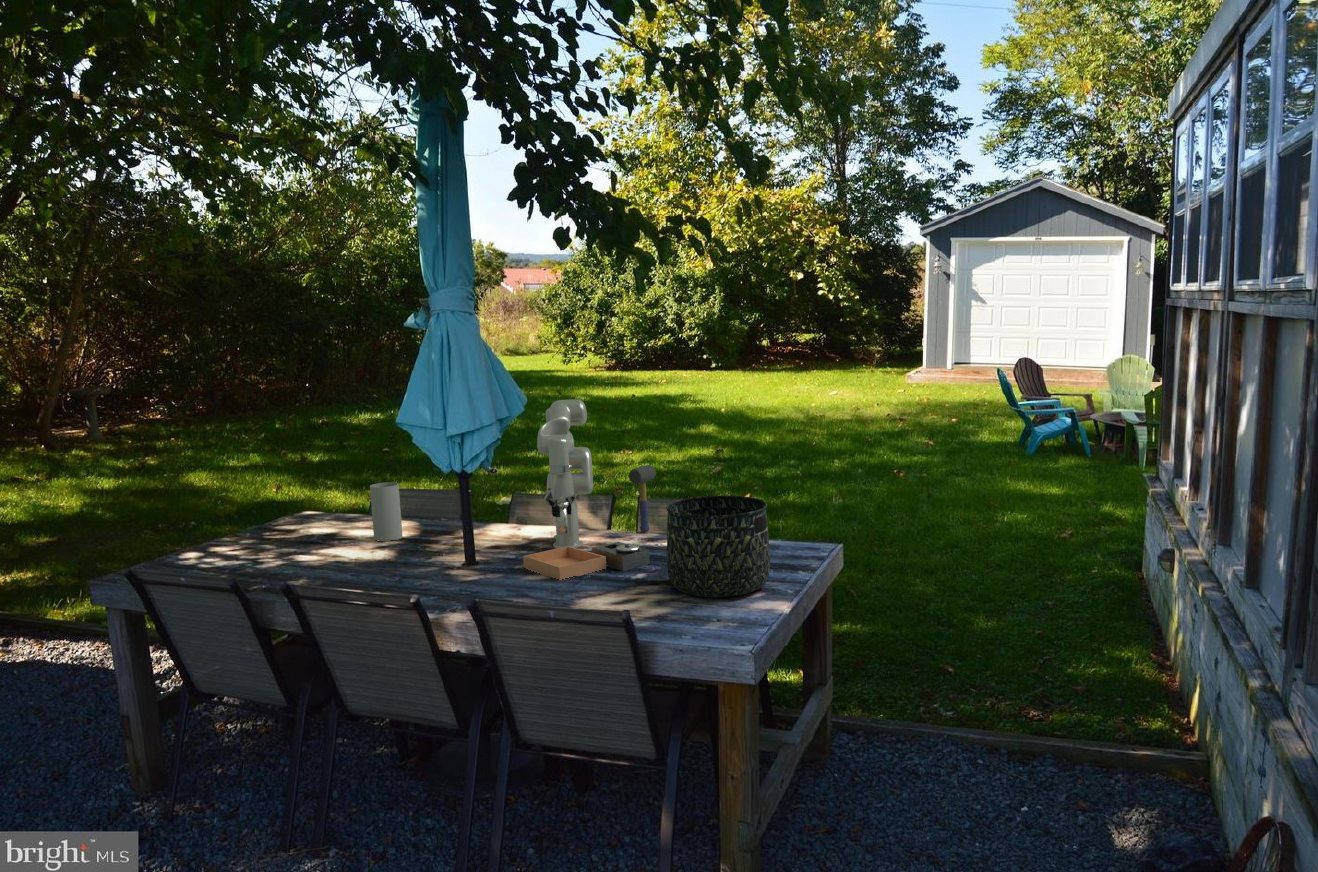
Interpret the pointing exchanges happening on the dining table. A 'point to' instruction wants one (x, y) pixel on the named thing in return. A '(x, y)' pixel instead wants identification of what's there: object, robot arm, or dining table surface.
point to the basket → (718, 545)
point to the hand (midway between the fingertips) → (561, 514)
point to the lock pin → (562, 517)
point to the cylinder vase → (386, 511)
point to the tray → (564, 562)
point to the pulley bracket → (623, 555)
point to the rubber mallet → (643, 490)
